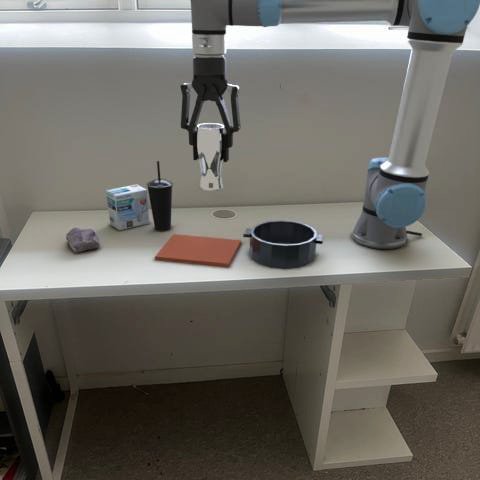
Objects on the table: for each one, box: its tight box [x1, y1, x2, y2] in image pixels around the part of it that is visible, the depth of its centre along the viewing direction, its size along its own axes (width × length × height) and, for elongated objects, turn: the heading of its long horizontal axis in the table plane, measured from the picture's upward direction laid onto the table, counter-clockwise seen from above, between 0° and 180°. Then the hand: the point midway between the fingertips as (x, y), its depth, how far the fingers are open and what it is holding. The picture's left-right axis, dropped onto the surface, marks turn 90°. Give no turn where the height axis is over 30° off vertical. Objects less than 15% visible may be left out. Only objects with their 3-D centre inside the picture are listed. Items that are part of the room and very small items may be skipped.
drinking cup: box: [146, 160, 174, 232], centre depth 148 cm, size 8×8×20 cm
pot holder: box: [154, 233, 242, 268], centre depth 139 cm, size 20×16×1 cm
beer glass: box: [196, 122, 225, 192], centre depth 125 cm, size 7×7×15 cm
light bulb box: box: [105, 183, 150, 231], centre depth 153 cm, size 11×7×11 cm, turn 128°
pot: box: [242, 219, 325, 270], centre depth 136 cm, size 21×18×6 cm
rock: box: [65, 227, 101, 254], centre depth 140 cm, size 8×11×5 cm
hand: (211, 159), depth 126 cm, fingers closed on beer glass, 7 cm apart
